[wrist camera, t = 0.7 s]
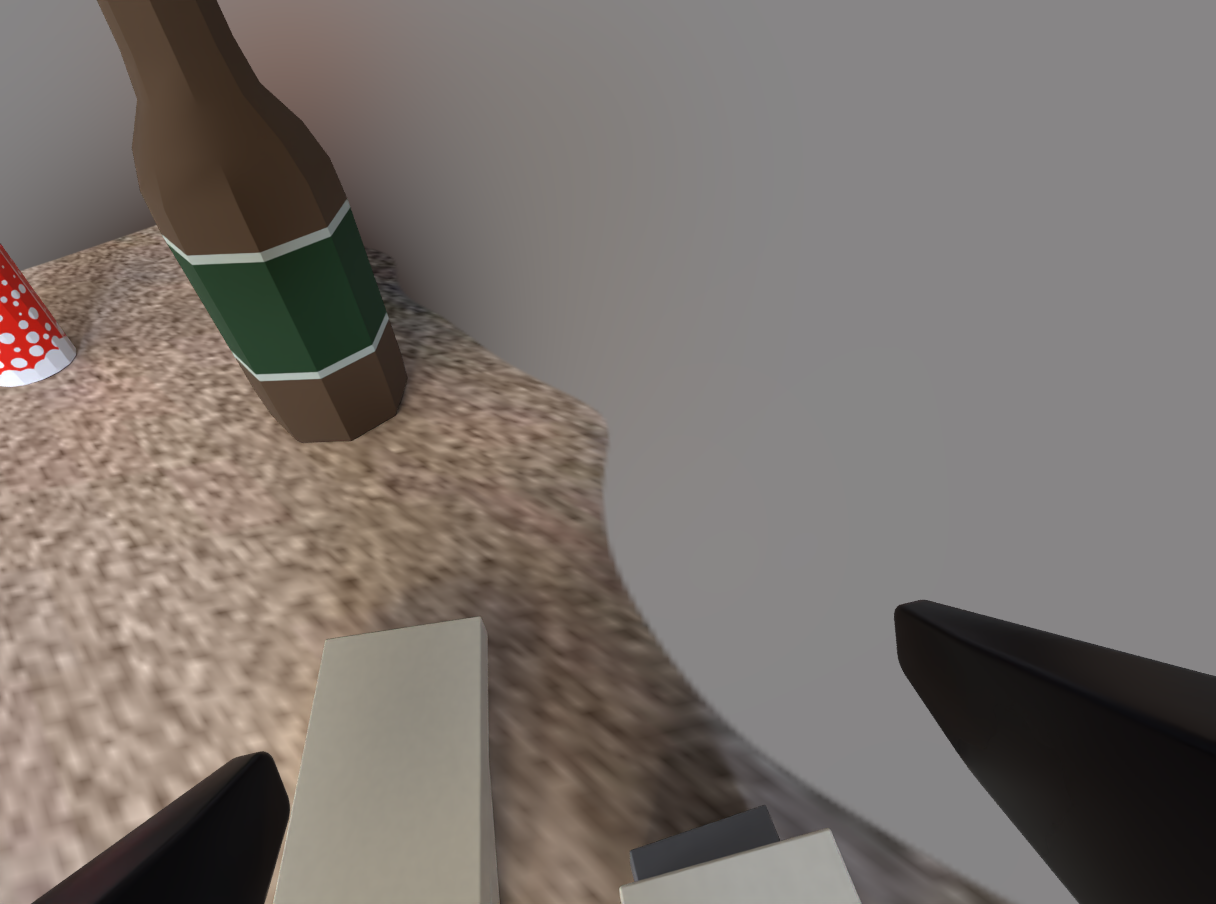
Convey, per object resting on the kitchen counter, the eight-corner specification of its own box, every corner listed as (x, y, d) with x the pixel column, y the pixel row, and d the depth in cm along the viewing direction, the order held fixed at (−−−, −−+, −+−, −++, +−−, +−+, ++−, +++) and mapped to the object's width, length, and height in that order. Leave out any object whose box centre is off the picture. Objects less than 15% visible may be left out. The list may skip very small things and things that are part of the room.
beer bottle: (334, 350, 38) (85, -210, 21) (437, 375, 36) (256, -227, 19) (242, 429, 33) (-187, -224, 16) (356, 463, 31) (5, -249, 14)
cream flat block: (520, 941, 17) (505, 929, 15) (301, 1004, 16) (254, 1001, 14) (493, 641, 24) (480, 606, 22) (335, 676, 23) (306, 642, 21)
